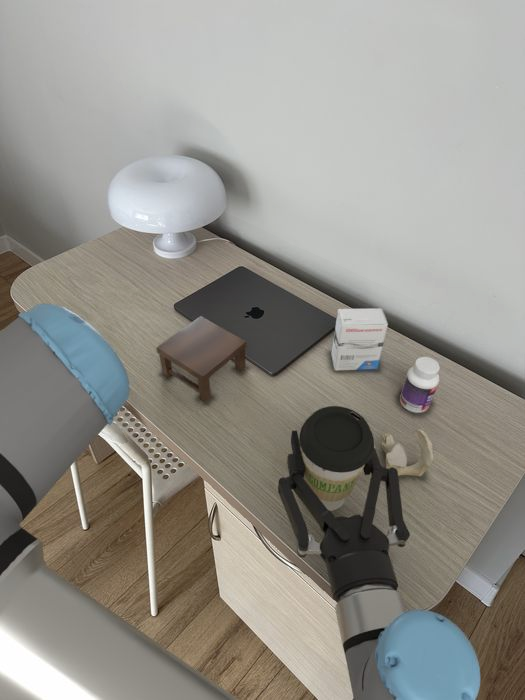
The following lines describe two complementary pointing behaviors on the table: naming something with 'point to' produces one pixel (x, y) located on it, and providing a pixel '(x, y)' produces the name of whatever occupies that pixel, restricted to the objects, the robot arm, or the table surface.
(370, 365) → the ink box
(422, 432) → the bone
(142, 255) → the table surface
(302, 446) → the coffee cup
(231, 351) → the small brown wooden table
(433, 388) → the pill bottle
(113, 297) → the table surface
